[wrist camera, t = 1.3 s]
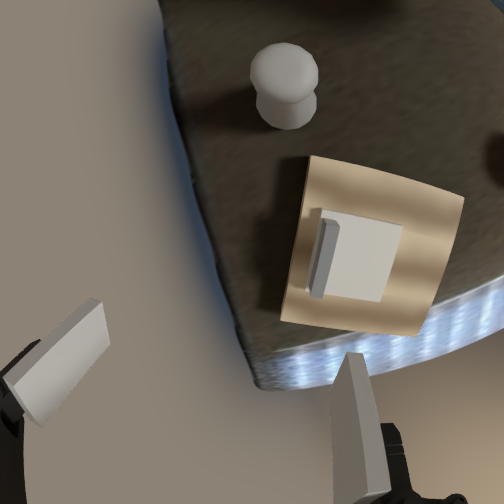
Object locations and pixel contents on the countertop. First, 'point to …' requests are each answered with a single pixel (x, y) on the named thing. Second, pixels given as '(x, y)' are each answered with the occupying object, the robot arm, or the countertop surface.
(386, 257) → the shutter
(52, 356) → the robot arm
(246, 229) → the countertop surface
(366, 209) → the socket board
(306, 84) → the salt shaker
